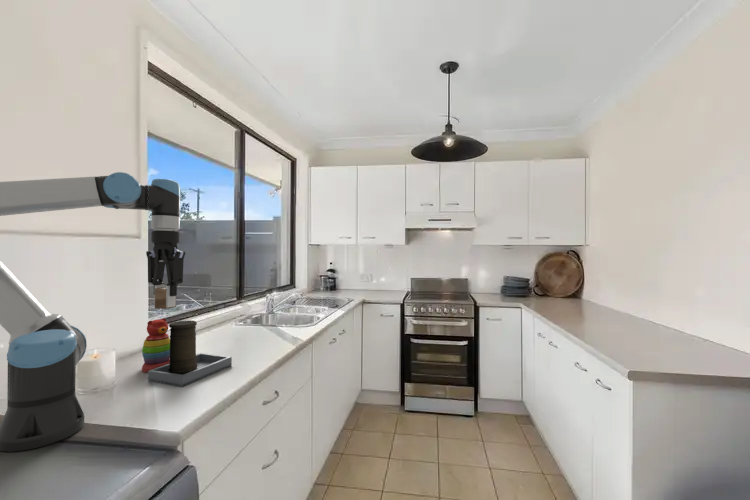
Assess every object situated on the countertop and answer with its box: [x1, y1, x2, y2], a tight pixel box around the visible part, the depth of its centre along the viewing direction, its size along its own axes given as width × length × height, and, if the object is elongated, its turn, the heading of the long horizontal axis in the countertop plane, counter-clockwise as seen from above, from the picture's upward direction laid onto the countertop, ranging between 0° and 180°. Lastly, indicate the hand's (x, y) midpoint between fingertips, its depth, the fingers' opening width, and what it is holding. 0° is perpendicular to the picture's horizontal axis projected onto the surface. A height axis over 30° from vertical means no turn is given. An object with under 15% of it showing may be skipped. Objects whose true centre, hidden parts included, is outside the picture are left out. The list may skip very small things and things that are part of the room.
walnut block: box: [154, 286, 177, 310], centre depth 108 cm, size 4×4×6 cm
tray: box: [147, 352, 233, 388], centre depth 124 cm, size 22×15×4 cm
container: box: [168, 319, 198, 375], centre depth 121 cm, size 9×9×18 cm
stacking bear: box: [141, 318, 170, 374], centre depth 131 cm, size 11×10×18 cm
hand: (165, 306), depth 107 cm, fingers closed on walnut block, 4 cm apart
